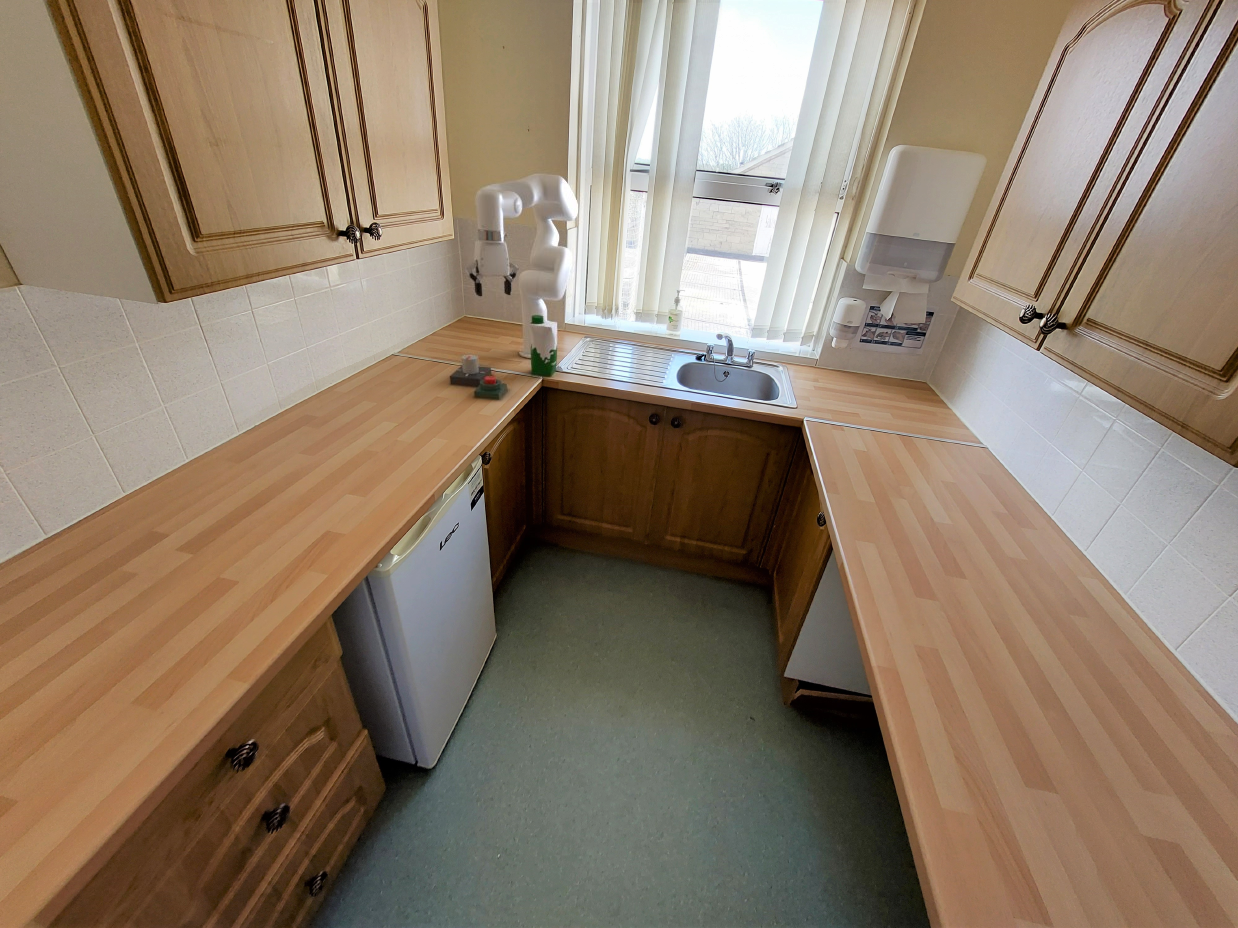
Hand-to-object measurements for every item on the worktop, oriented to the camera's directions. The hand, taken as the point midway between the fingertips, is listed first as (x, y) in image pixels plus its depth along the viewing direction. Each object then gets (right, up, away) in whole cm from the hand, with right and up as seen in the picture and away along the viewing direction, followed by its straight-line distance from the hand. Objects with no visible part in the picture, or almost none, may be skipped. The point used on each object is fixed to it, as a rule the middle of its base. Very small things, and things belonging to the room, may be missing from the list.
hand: (493, 295), depth 155 cm
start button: (-1, -29, -1) cm, 29 cm away
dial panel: (-10, -26, +10) cm, 29 cm away
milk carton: (+13, -21, +21) cm, 33 cm away
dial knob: (-10, -23, +8) cm, 26 cm away
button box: (-1, -32, +1) cm, 32 cm away
